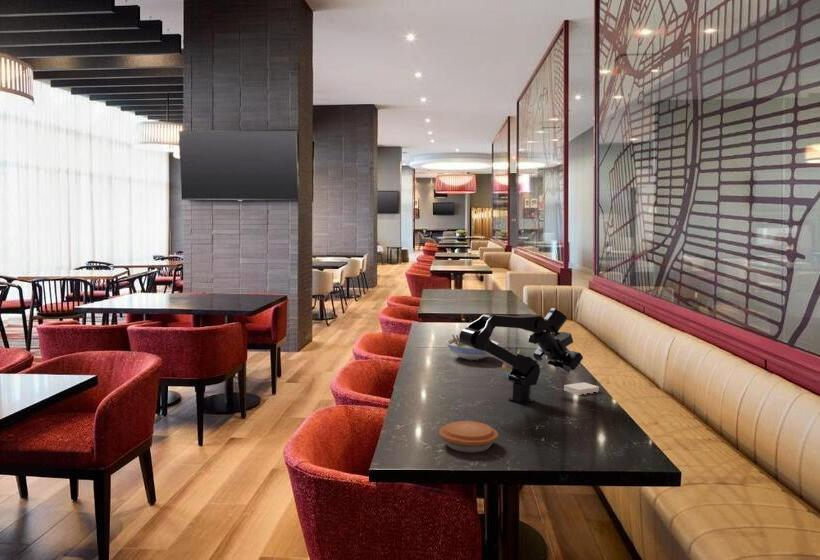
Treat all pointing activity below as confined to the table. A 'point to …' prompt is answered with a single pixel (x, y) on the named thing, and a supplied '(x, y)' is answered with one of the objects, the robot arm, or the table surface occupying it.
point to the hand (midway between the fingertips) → (568, 371)
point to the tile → (581, 388)
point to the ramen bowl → (466, 350)
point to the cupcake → (507, 367)
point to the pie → (468, 436)
